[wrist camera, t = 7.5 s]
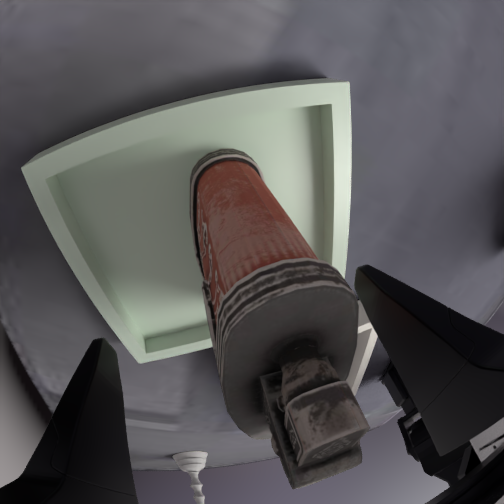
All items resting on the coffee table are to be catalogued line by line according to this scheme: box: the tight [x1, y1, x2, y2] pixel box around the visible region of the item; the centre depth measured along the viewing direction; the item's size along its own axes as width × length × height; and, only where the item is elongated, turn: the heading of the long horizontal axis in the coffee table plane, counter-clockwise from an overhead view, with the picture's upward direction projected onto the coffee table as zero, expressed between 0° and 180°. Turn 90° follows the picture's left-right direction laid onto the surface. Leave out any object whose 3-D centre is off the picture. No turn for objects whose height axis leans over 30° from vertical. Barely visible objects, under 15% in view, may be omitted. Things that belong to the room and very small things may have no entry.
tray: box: [21, 78, 351, 364], centre depth 12 cm, size 12×12×2 cm
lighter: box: [189, 148, 370, 489], centre depth 9 cm, size 8×3×10 cm, turn 4°
